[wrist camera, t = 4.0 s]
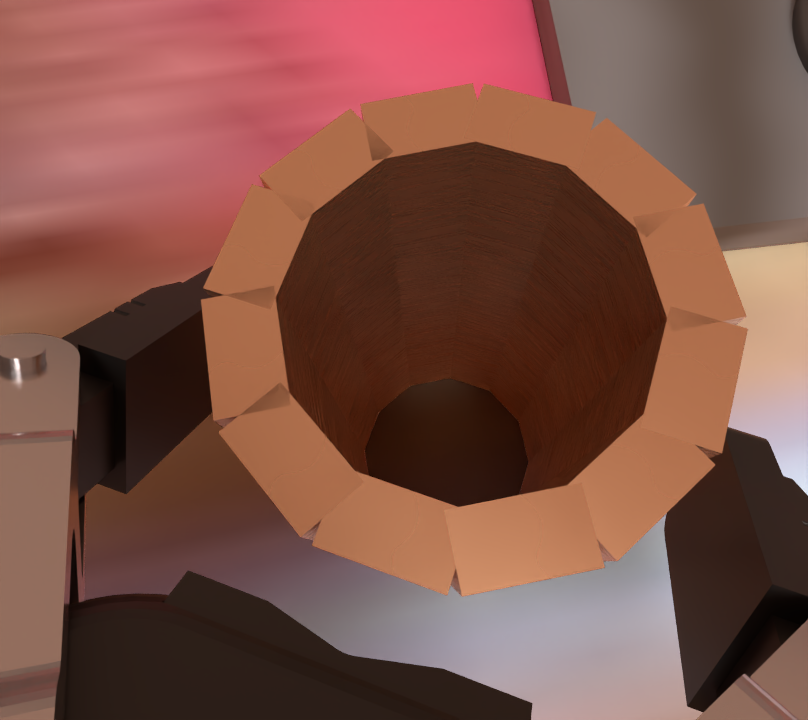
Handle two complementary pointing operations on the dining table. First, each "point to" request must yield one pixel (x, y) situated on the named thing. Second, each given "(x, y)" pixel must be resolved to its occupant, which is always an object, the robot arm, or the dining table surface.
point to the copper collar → (474, 330)
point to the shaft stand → (698, 98)
